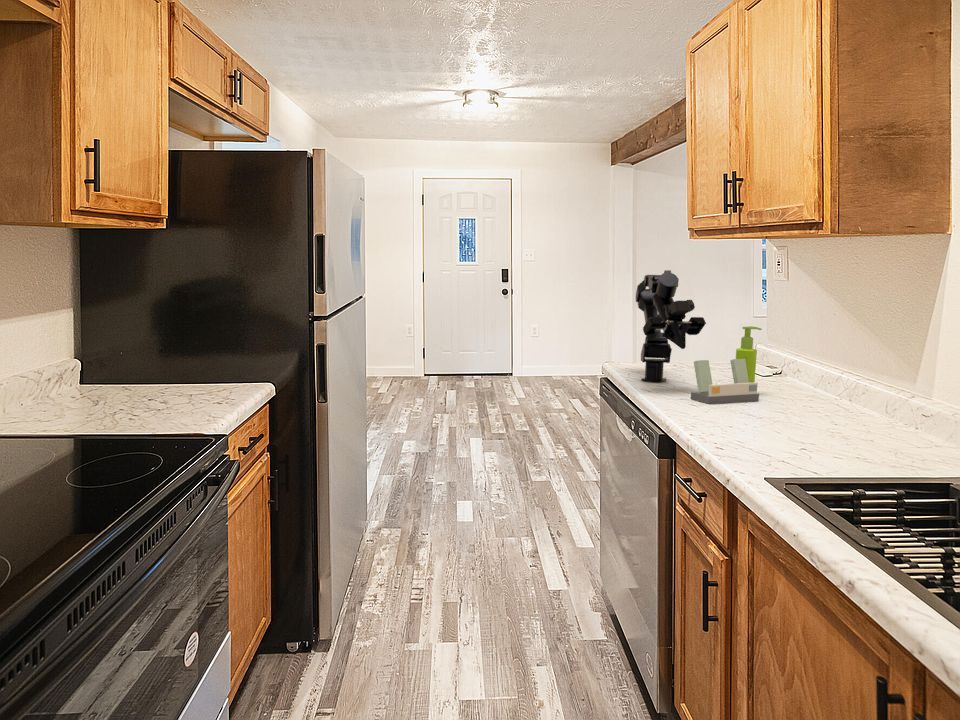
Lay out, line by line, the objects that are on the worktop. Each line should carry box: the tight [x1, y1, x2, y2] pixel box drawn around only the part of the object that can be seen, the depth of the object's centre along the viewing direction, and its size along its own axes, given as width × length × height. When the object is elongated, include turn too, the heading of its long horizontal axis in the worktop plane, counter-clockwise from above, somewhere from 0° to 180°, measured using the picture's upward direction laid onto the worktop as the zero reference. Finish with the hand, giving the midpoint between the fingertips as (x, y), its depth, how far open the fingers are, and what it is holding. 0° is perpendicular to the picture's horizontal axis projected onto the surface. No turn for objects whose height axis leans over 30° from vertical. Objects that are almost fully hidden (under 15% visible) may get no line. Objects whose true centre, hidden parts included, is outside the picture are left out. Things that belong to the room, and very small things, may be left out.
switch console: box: [690, 381, 760, 405], centre depth 233 cm, size 8×18×5 cm, turn 113°
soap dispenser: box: [735, 326, 763, 383], centre depth 245 cm, size 6×7×20 cm
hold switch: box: [730, 358, 749, 384], centre depth 236 cm, size 2×4×9 cm, turn 113°
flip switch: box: [693, 359, 714, 393], centre depth 231 cm, size 2×4×9 cm, turn 112°
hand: (683, 348), depth 241 cm, fingers closed
